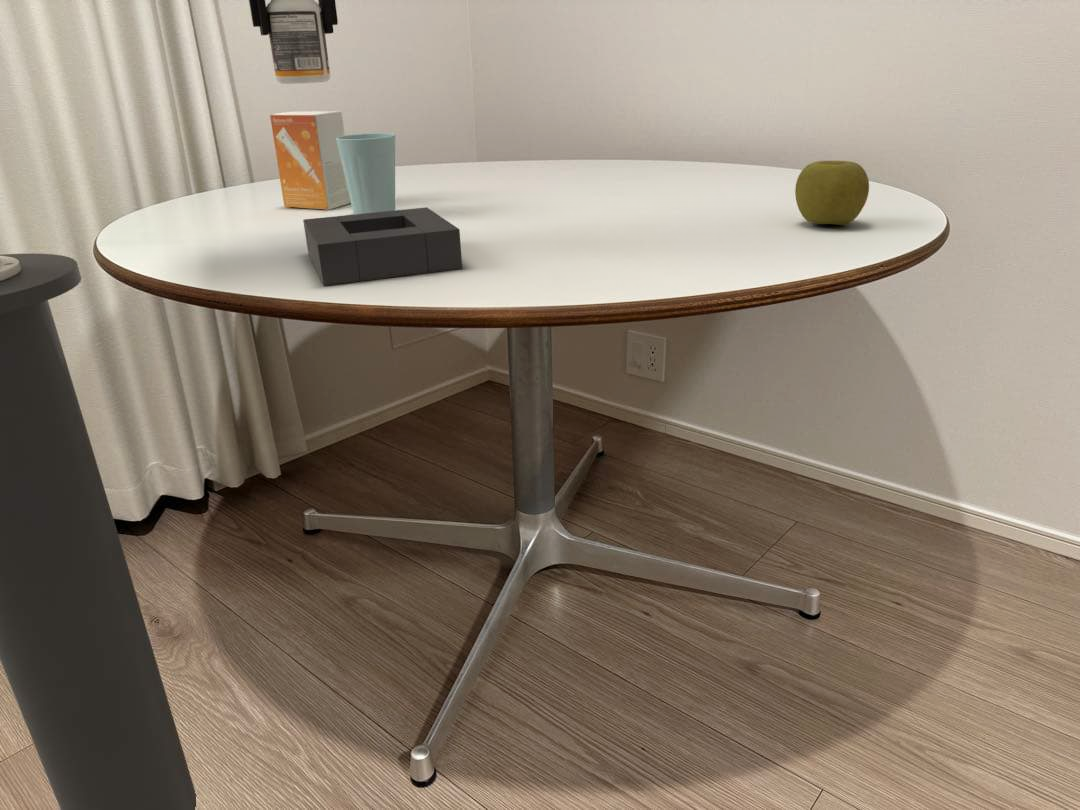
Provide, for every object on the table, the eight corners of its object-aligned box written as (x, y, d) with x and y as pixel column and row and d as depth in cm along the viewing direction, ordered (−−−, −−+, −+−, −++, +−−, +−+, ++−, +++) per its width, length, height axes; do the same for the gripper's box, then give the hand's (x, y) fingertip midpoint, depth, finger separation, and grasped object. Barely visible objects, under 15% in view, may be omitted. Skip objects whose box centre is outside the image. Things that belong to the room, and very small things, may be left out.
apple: (791, 218, 97) (797, 157, 94) (861, 219, 95) (869, 157, 92) (792, 231, 90) (798, 166, 87) (866, 232, 88) (875, 166, 85)
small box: (283, 208, 116) (267, 114, 111) (310, 200, 121) (297, 110, 116) (328, 210, 113) (315, 113, 108) (354, 202, 118) (342, 110, 113)
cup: (335, 220, 106) (324, 138, 101) (363, 210, 112) (354, 132, 108) (385, 222, 103) (377, 138, 99) (412, 211, 110) (404, 133, 106)
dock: (323, 286, 75) (317, 244, 74) (308, 255, 87) (302, 219, 86) (462, 268, 80) (459, 228, 78) (430, 242, 92) (427, 207, 90)
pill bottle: (290, 82, 88) (275, -18, 84) (339, 81, 87) (326, -21, 83) (267, 84, 83) (250, -22, 79) (318, 83, 82) (304, -25, 78)
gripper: (350, -159, 82) (371, 33, 89) (171, -169, 76) (209, 37, 84) (364, -178, 76) (385, 30, 83) (169, -190, 70) (211, 35, 77)
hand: (296, 32), depth 83 cm, fingers closed on pill bottle, 5 cm apart
